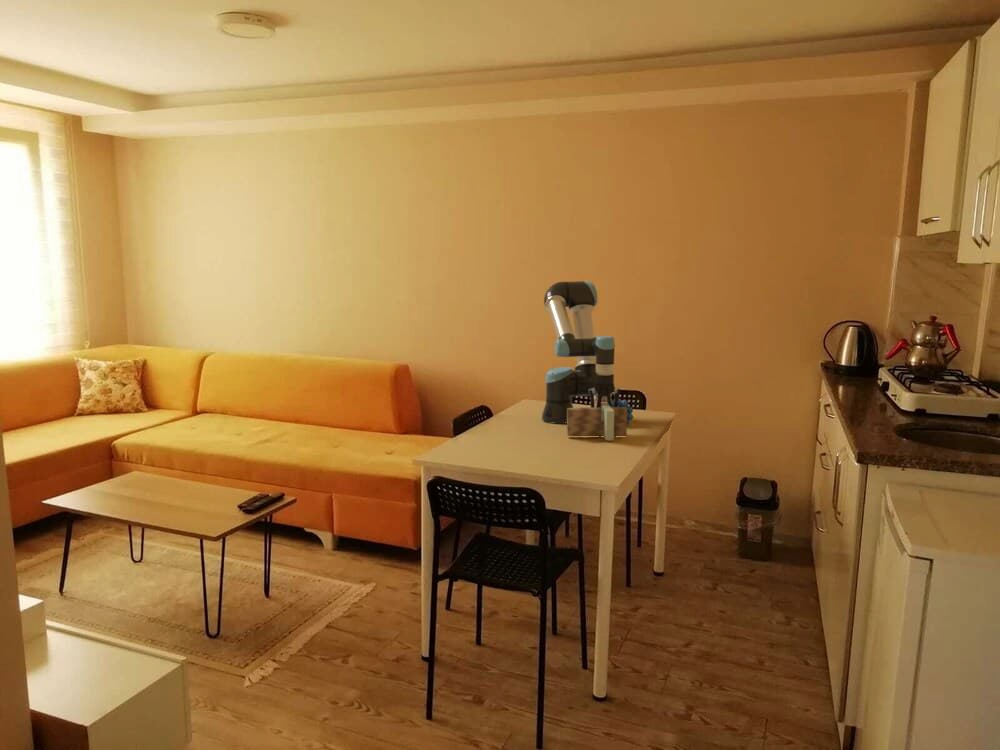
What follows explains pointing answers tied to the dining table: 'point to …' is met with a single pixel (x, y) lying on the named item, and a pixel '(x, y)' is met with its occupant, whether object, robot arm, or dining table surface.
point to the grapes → (625, 404)
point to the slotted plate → (608, 420)
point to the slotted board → (594, 421)
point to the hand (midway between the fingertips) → (603, 428)
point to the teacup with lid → (604, 398)
